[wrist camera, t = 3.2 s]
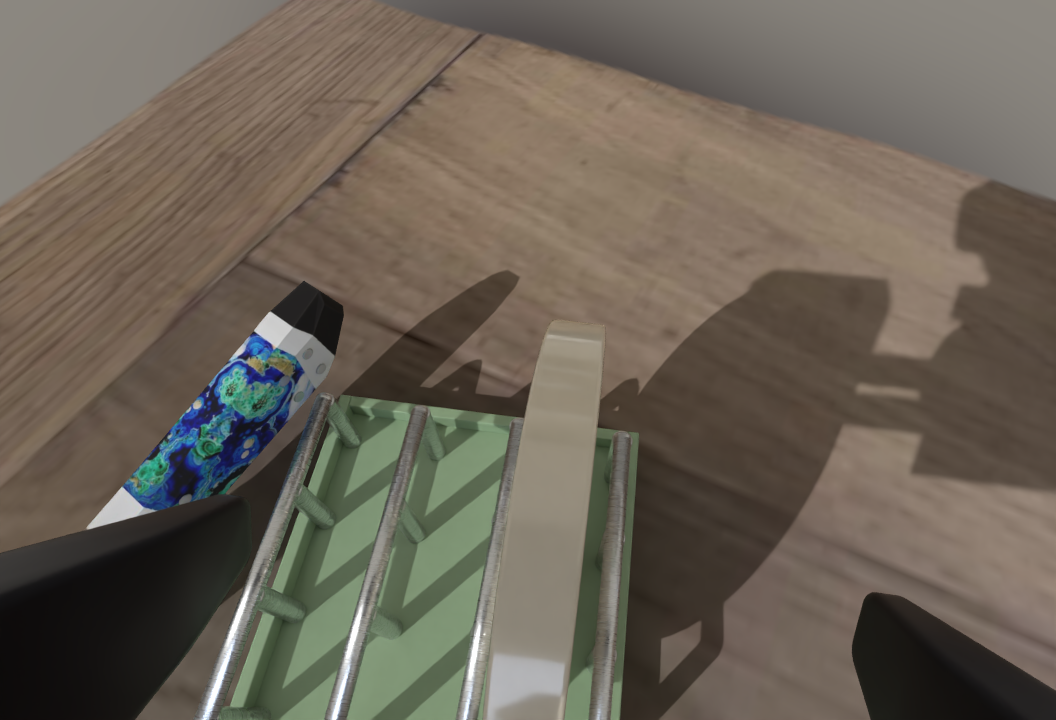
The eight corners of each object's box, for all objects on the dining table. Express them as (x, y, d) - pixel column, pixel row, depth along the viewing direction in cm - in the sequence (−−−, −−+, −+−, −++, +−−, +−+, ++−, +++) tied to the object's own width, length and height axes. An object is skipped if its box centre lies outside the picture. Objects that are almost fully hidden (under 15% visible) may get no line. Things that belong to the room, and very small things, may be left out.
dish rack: (605, 852, 15) (622, 891, 12) (226, 774, 16) (142, 788, 13) (634, 447, 21) (650, 395, 17) (351, 410, 22) (314, 354, 19)
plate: (553, 790, 15) (557, 890, 7) (500, 780, 16) (434, 862, 7) (592, 437, 20) (624, 225, 12) (552, 432, 21) (553, 219, 12)
